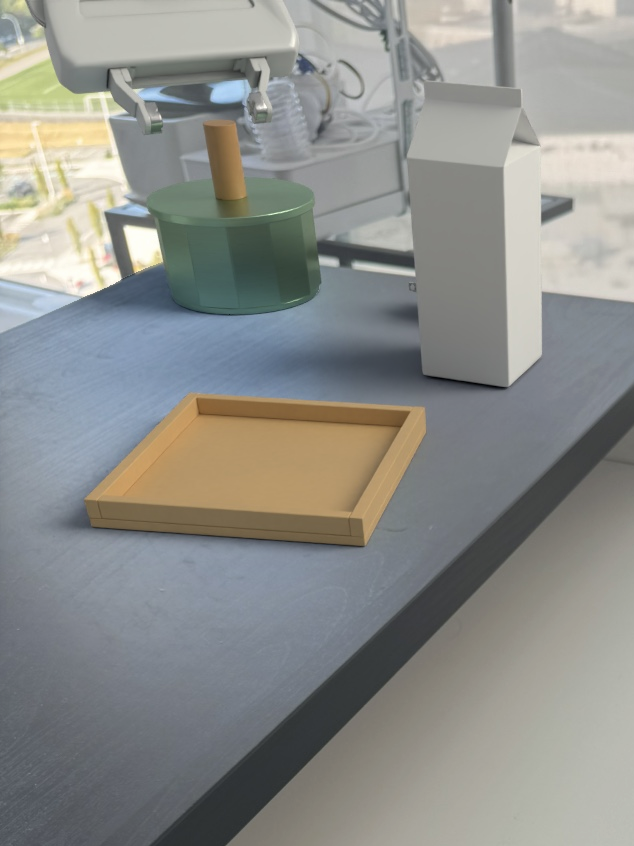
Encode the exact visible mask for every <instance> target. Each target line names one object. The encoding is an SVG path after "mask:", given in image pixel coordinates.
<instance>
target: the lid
mask: <svg viewBox="0 0 634 846" xmlns="http://www.w3.org/2000/svg"><path fill="white" fill-rule="evenodd" d="M202 127H203V133H204V139H205V146H206V150H207V156H208V157H207V158H208V163H209V168H210V174H211V178H203V179H195V180H189V181H184V182H180V183H175V184H171V185H167V186H165V187H162V188H159V189H157V190H155V191H153V192H152V193H150V194H149V195H148V196H147V197H146V200H145V204H146V208H147V212H148V213H149V214H150V215H151V216H152V217H153V218H154V217H156V218H158V219H160V220H163V221H166V222H171V223H175V224H181V225H189V226H200V227H240V226H252V225H261V224H268V223H273V222H279V221H283V220H287V219H291V218H294V217H297V216H300V215H302V214H304V213H306V212H308V211H310V210H311V209H312V208H314V207H315V206H316V198H315V192H314V191H313V190H312V189H311V188H310V187H308V186H306V185H304V184H301V183H298V182H295V181H291V180H285V179H279V178H270V177H260V176H259V177H258V176H256V177H255V176H245V173H244V167H243V162H242V154H241V149H240V142H239V141H240V140H239V135H238V129H237V123H236V121H234V120H232V119H209V120H206V121H205V120H204V121H203V122H202Z"/></svg>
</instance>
